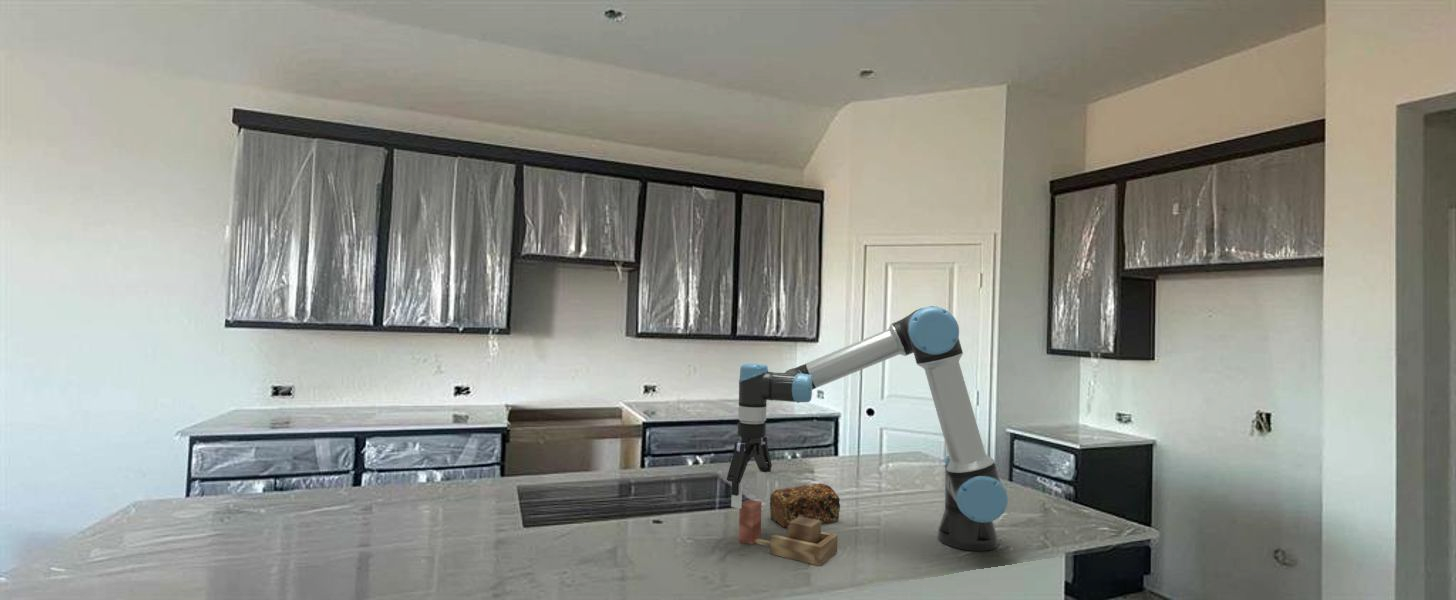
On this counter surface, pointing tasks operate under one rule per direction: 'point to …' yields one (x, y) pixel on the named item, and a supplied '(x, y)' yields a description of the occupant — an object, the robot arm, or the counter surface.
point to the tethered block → (752, 526)
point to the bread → (805, 504)
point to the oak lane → (805, 548)
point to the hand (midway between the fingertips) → (749, 501)
